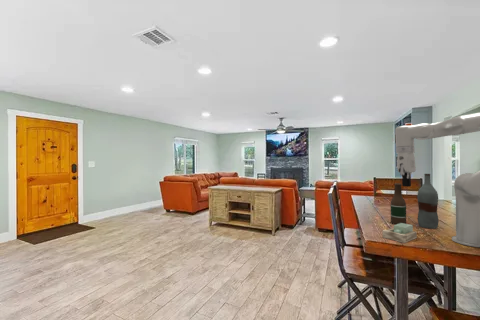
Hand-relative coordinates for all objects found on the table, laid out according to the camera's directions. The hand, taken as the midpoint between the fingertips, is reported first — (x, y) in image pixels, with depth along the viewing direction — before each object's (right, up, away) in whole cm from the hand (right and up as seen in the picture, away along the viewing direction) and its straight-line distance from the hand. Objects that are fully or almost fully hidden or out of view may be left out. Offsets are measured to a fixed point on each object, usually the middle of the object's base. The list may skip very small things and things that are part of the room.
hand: (406, 186), depth 117 cm
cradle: (-6, -25, -4) cm, 26 cm away
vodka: (+22, -25, +14) cm, 36 cm away
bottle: (0, -22, 0) cm, 22 cm away
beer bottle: (+10, -25, +20) cm, 33 cm away
